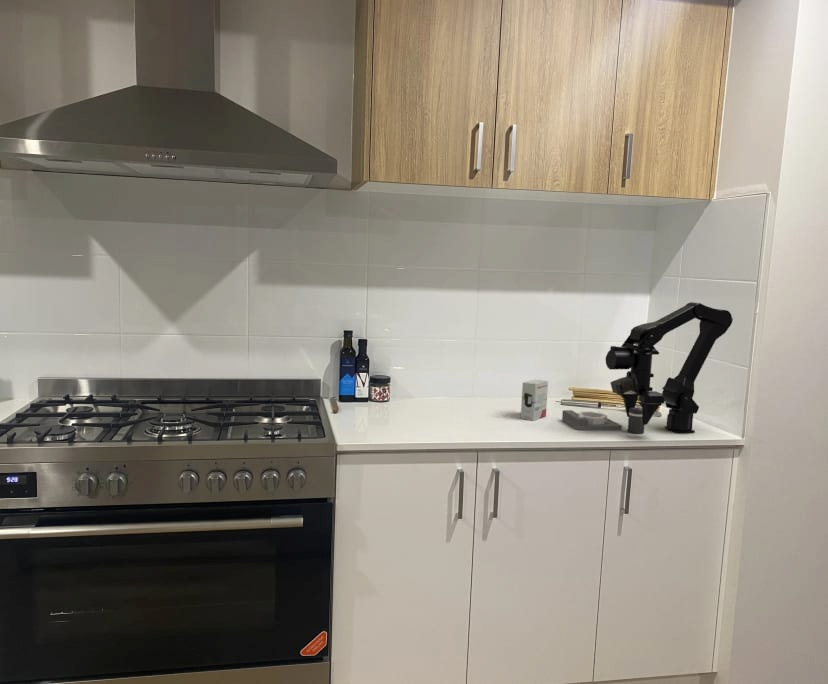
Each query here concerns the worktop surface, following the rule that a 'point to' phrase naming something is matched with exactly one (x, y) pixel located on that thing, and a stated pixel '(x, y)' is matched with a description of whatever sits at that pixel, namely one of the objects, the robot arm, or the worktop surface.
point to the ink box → (534, 399)
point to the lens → (635, 421)
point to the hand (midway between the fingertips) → (636, 420)
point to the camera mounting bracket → (589, 420)
